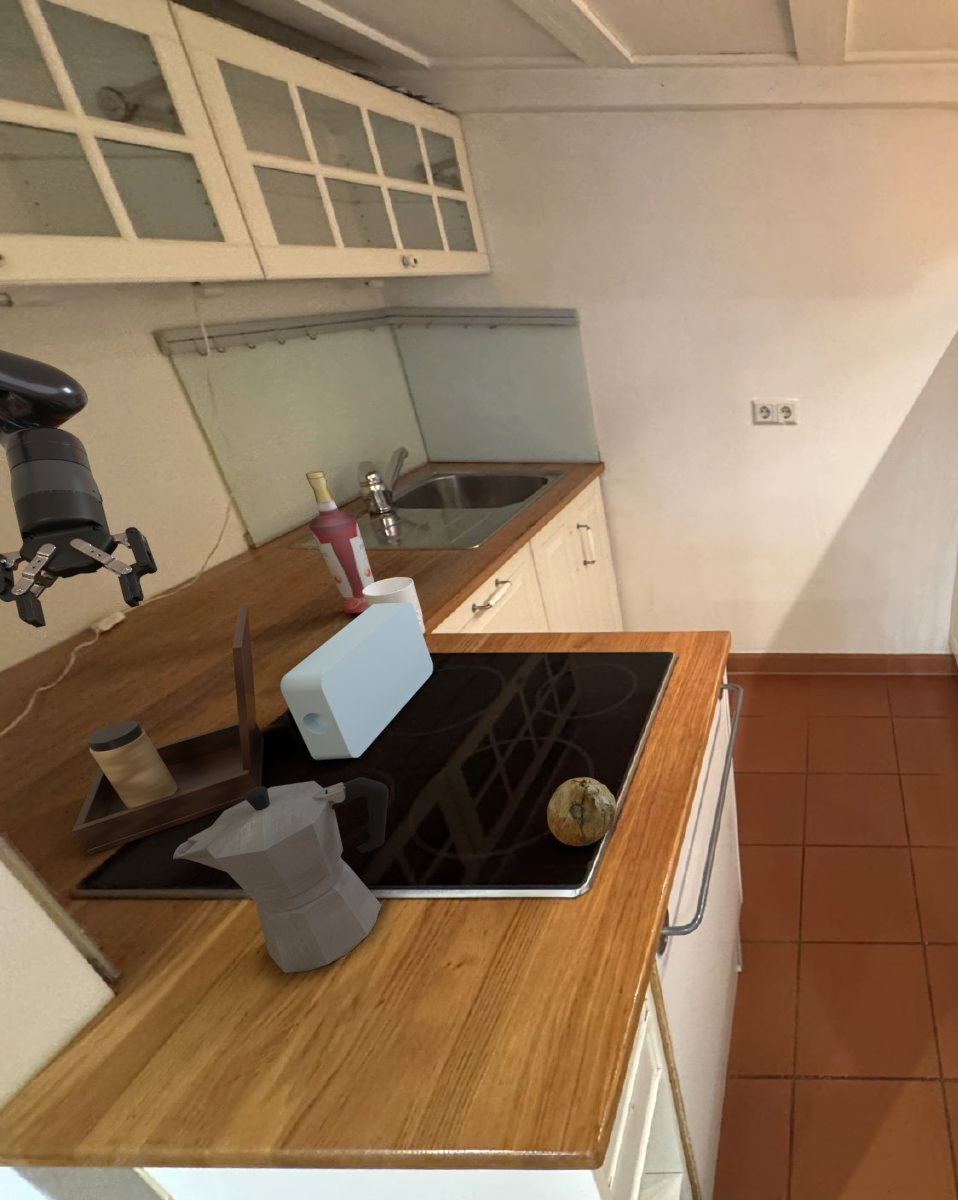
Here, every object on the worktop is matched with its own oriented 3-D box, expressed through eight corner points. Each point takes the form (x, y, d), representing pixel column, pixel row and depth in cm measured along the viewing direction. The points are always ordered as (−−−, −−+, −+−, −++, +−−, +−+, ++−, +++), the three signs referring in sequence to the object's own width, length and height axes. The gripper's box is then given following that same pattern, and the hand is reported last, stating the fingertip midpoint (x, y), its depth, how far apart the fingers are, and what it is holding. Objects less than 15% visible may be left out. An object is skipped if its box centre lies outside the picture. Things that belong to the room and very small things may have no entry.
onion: (626, 802, 79) (616, 750, 76) (618, 853, 72) (605, 798, 69) (562, 810, 78) (548, 757, 75) (547, 863, 71) (531, 807, 68)
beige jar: (122, 816, 79) (79, 750, 74) (130, 794, 82) (88, 729, 78) (175, 798, 81) (136, 733, 77) (180, 778, 85) (143, 714, 80)
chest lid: (232, 648, 75) (241, 647, 76) (239, 604, 86) (247, 604, 87) (242, 770, 80) (251, 769, 81) (248, 715, 91) (256, 714, 91)
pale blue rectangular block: (399, 672, 108) (372, 600, 102) (434, 670, 108) (410, 598, 103) (309, 765, 87) (269, 682, 81) (354, 762, 88) (317, 679, 82)
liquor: (389, 611, 129) (340, 472, 117) (346, 622, 125) (290, 480, 113) (384, 599, 135) (336, 465, 122) (342, 610, 130) (288, 472, 118)
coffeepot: (239, 1008, 58) (140, 861, 50) (248, 931, 65) (163, 791, 57) (433, 919, 65) (375, 779, 57) (423, 858, 72) (369, 726, 64)
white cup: (437, 631, 121) (421, 582, 117) (393, 650, 115) (375, 599, 111) (415, 621, 125) (399, 573, 121) (372, 638, 119) (353, 589, 115)
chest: (89, 856, 74) (71, 831, 72) (115, 785, 85) (100, 762, 83) (261, 796, 82) (248, 772, 81) (264, 739, 93) (253, 717, 91)
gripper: (-43, 500, 77) (-19, 620, 74) (120, 477, 85) (148, 586, 81) (-2, 531, 84) (22, 643, 80) (146, 507, 91) (174, 609, 88)
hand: (86, 614), depth 81 cm, fingers open, 8 cm apart
